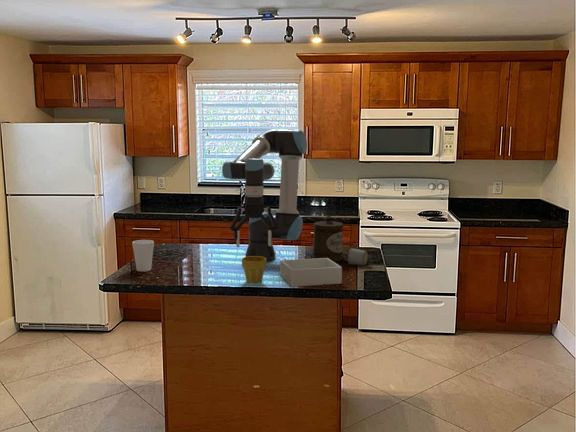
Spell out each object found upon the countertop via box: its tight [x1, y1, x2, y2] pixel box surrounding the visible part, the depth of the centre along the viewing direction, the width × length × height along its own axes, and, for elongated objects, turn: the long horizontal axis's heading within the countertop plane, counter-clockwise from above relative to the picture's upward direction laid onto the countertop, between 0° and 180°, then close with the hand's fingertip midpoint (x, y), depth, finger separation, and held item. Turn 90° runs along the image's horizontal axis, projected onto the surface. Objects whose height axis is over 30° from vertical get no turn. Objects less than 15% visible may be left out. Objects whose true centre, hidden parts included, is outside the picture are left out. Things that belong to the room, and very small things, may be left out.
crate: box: [279, 258, 343, 287], centre depth 233 cm, size 18×22×7 cm
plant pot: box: [241, 256, 267, 284], centre depth 229 cm, size 10×10×10 cm
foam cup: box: [132, 239, 155, 272], centre depth 246 cm, size 10×9×13 cm
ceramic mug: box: [347, 248, 369, 266], centre depth 263 cm, size 11×8×8 cm
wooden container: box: [312, 215, 344, 263], centre depth 273 cm, size 15×15×22 cm
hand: (253, 246), depth 228 cm, fingers open, 13 cm apart
